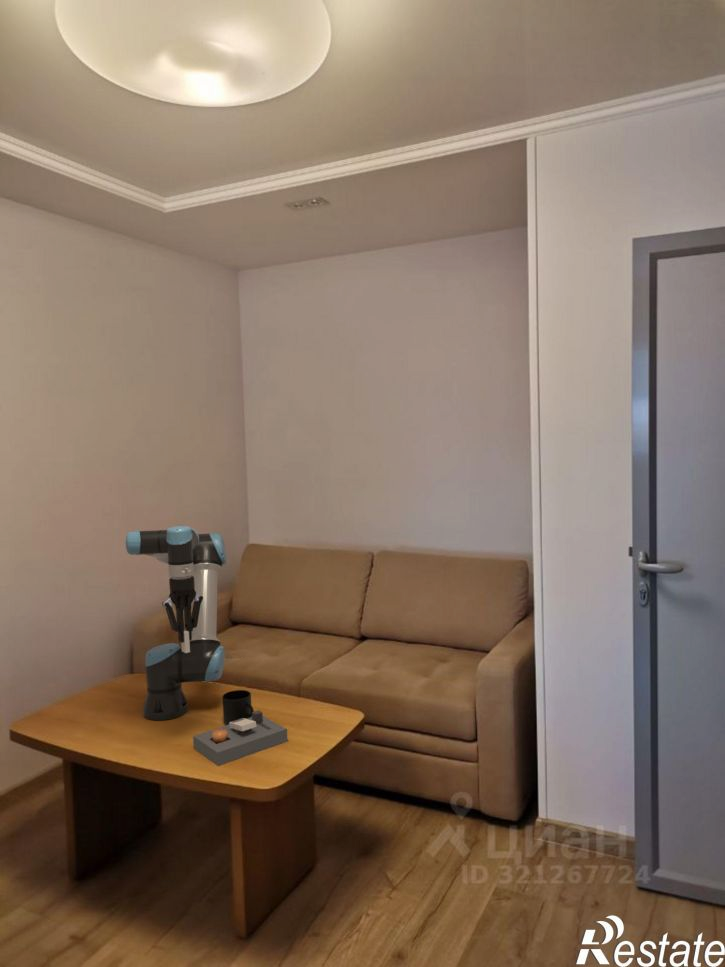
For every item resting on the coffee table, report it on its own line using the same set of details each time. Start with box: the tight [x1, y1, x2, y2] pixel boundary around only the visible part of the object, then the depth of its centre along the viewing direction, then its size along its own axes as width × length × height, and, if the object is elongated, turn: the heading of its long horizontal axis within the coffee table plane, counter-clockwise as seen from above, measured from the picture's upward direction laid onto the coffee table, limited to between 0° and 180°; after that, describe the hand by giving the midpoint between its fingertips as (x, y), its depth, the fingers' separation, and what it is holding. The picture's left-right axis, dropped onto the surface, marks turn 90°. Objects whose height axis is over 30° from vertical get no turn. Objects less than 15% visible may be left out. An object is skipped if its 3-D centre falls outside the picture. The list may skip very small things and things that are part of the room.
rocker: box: [229, 718, 257, 731], centre depth 227 cm, size 8×5×2 cm, turn 39°
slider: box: [252, 710, 264, 723], centre depth 234 cm, size 2×2×3 cm
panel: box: [192, 715, 288, 767], centre depth 227 cm, size 16×24×5 cm, turn 129°
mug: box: [221, 689, 254, 726], centre depth 245 cm, size 9×12×9 cm
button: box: [212, 729, 227, 744], centre depth 222 cm, size 4×4×6 cm
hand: (185, 651), depth 227 cm, fingers closed
